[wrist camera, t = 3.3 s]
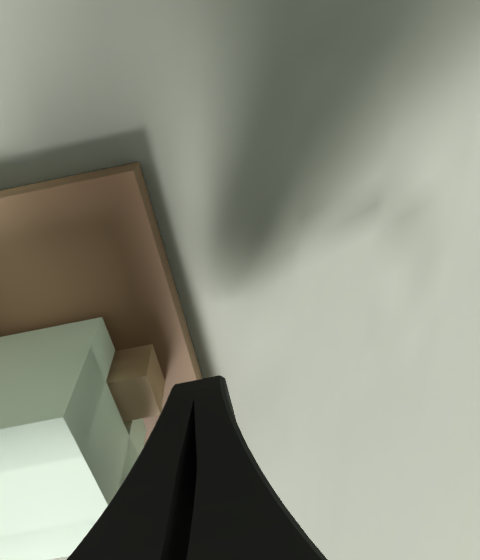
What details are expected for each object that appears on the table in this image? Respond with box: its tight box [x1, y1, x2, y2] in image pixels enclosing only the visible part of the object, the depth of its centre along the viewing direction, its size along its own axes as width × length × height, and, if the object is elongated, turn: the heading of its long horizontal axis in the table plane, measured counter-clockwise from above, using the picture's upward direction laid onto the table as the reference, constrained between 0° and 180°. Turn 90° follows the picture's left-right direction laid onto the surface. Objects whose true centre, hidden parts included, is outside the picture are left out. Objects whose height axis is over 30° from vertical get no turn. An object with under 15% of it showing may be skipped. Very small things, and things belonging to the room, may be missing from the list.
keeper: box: [0, 317, 147, 560], centre depth 12 cm, size 4×4×4 cm
